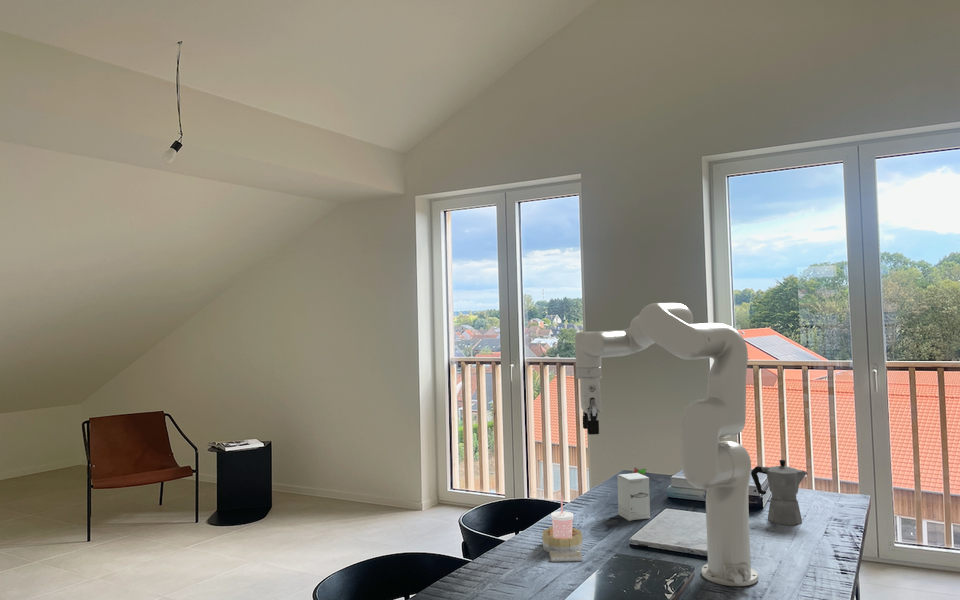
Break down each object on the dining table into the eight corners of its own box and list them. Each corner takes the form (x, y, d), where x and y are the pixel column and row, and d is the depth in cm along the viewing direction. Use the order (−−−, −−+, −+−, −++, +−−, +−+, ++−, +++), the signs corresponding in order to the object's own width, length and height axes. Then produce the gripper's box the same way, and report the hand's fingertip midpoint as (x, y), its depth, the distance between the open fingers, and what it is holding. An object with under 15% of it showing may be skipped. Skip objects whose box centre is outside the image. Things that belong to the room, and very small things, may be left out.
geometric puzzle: (657, 481, 237) (647, 461, 242) (644, 484, 234) (633, 464, 238) (646, 490, 242) (636, 470, 246) (632, 493, 238) (622, 473, 243)
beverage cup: (557, 542, 182) (556, 491, 183) (578, 546, 179) (576, 494, 180) (547, 549, 177) (546, 497, 178) (569, 553, 174) (567, 499, 175)
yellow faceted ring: (584, 554, 173) (584, 538, 173) (544, 555, 173) (544, 539, 173) (576, 535, 188) (576, 520, 188) (540, 535, 188) (540, 521, 189)
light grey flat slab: (587, 560, 168) (587, 552, 168) (546, 561, 168) (546, 553, 168) (579, 540, 183) (579, 533, 184) (541, 541, 184) (541, 534, 184)
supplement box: (629, 521, 199) (627, 479, 200) (617, 514, 207) (616, 474, 207) (651, 518, 201) (649, 477, 202) (639, 512, 209) (637, 471, 209)
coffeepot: (808, 518, 198) (806, 457, 198) (810, 527, 189) (808, 464, 190) (753, 513, 204) (750, 454, 204) (752, 522, 195) (750, 461, 196)
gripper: (606, 375, 187) (608, 436, 186) (596, 370, 204) (598, 426, 204) (580, 376, 187) (582, 437, 186) (572, 371, 204) (574, 426, 204)
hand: (590, 431), depth 195 cm, fingers open, 9 cm apart
